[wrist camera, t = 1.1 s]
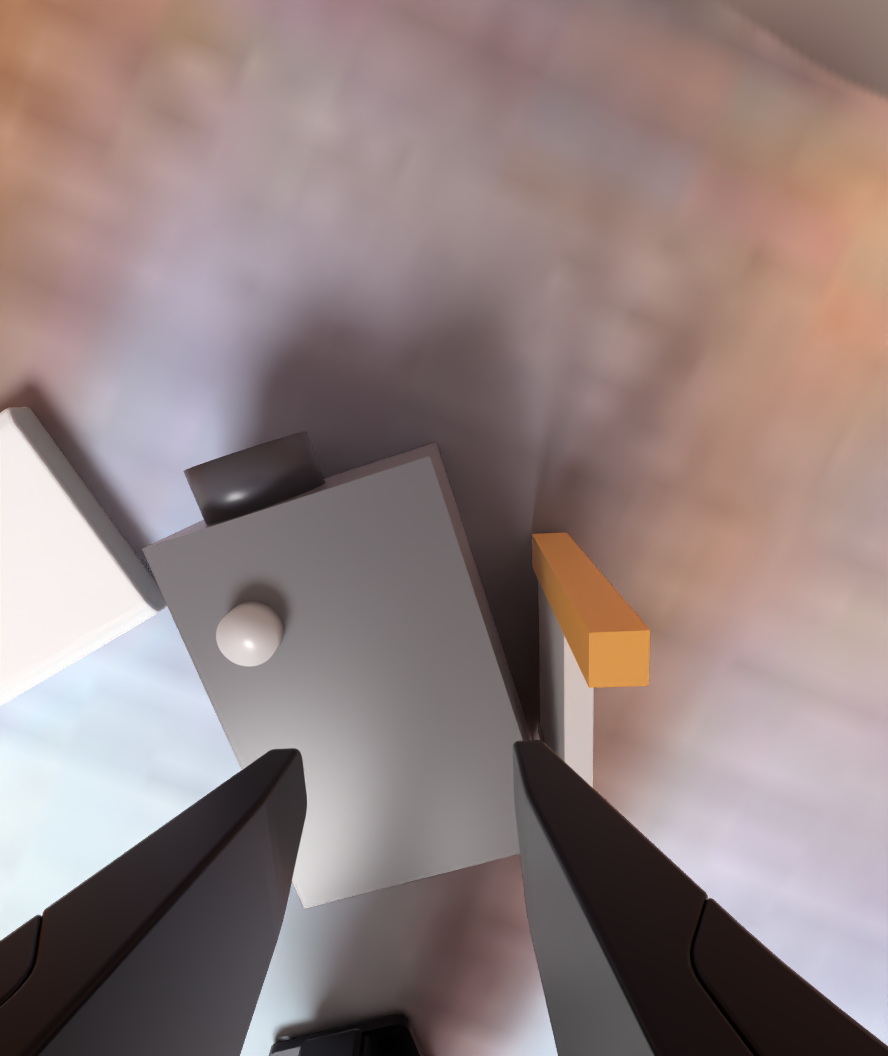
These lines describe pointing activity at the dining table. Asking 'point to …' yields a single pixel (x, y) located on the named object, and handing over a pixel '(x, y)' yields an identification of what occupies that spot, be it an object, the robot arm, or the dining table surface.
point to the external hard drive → (58, 562)
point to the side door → (581, 646)
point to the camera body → (352, 657)
